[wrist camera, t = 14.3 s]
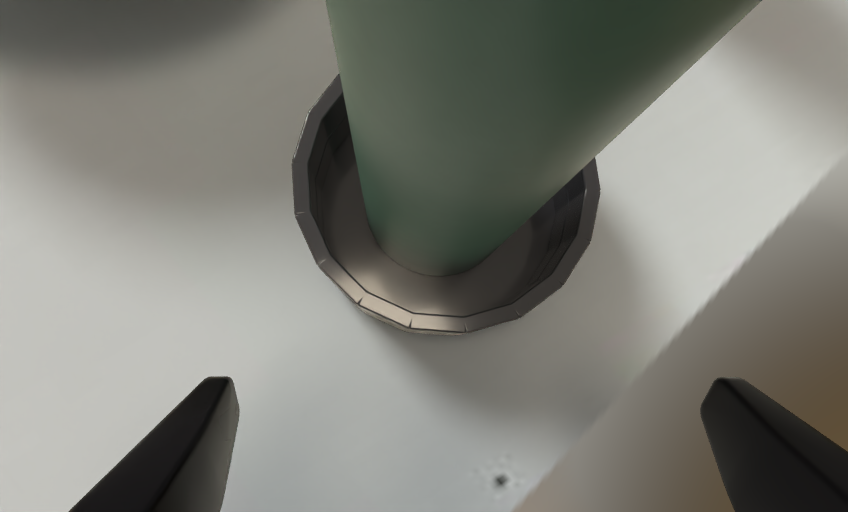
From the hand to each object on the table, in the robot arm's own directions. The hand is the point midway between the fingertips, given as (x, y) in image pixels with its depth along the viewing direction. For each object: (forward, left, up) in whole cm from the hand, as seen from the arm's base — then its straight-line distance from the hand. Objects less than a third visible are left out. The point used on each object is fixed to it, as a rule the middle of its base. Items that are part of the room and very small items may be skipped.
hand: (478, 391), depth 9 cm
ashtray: (+3, -5, -9) cm, 10 cm away
